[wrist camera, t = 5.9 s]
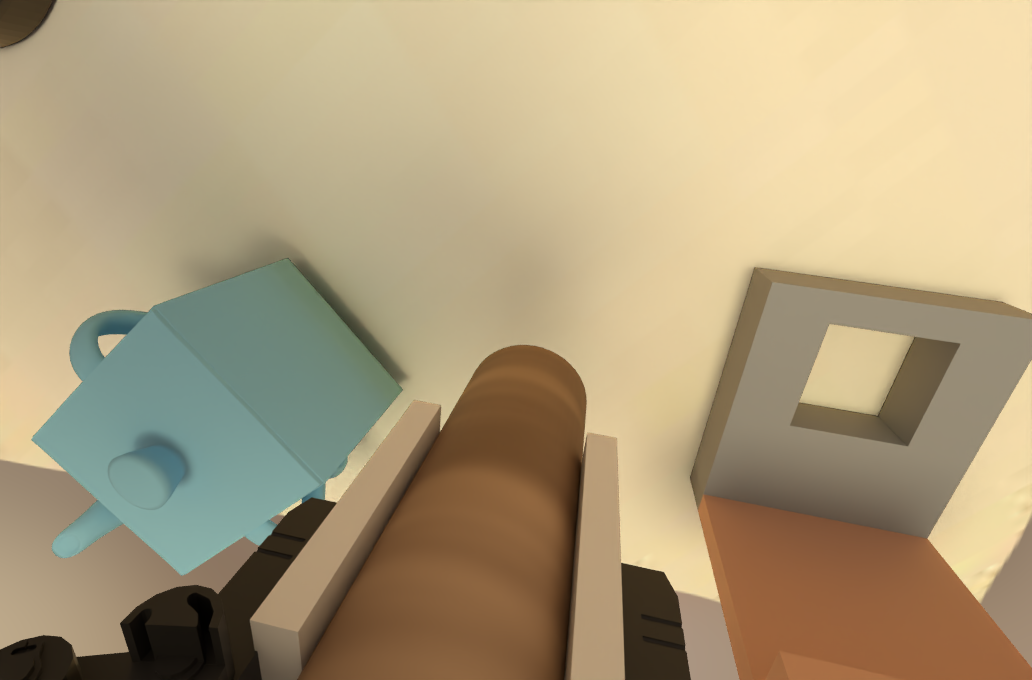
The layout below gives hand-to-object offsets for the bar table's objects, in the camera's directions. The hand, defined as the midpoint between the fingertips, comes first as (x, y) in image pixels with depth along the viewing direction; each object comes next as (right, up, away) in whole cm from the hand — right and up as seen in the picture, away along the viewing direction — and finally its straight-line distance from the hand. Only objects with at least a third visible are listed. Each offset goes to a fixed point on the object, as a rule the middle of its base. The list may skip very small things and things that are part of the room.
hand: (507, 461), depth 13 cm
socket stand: (+18, 0, +15) cm, 23 cm away
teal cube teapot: (-17, 0, +21) cm, 27 cm away
